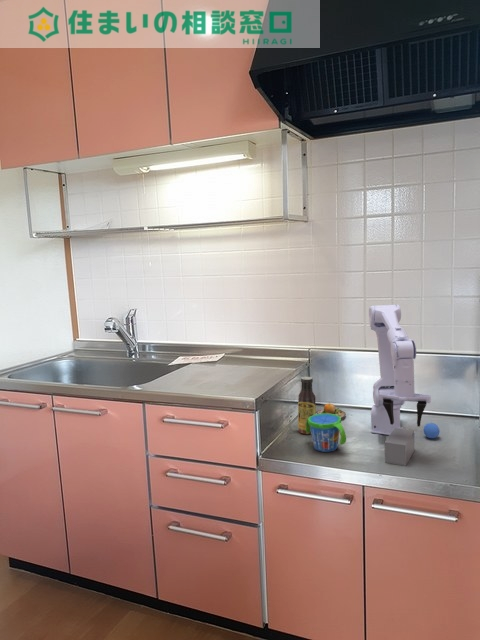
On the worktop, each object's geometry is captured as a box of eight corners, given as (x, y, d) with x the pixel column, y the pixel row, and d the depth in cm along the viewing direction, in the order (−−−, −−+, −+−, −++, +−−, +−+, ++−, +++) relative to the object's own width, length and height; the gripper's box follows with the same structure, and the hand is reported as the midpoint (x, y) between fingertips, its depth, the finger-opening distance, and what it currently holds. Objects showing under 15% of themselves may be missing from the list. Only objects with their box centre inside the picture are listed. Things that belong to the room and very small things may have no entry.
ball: (422, 439, 163) (421, 425, 162) (425, 434, 167) (424, 420, 166) (438, 441, 160) (438, 427, 160) (440, 436, 165) (440, 421, 164)
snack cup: (297, 445, 165) (296, 416, 163) (321, 437, 170) (320, 408, 169) (329, 460, 152) (328, 429, 150) (354, 451, 157) (353, 420, 155)
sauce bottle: (296, 434, 174) (293, 379, 171) (301, 428, 180) (298, 375, 177) (314, 435, 172) (312, 380, 169) (318, 429, 177) (316, 375, 175)
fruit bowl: (350, 415, 191) (349, 396, 190) (340, 425, 181) (339, 405, 180) (320, 411, 197) (320, 393, 196) (309, 421, 187) (308, 402, 186)
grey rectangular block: (385, 462, 148) (384, 442, 147) (395, 447, 158) (394, 427, 157) (405, 465, 145) (405, 445, 144) (414, 449, 155) (414, 430, 154)
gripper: (376, 382, 147) (378, 426, 149) (428, 384, 141) (429, 430, 142) (381, 377, 154) (382, 419, 155) (430, 379, 147) (431, 423, 149)
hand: (405, 424), depth 149 cm, fingers open, 7 cm apart
